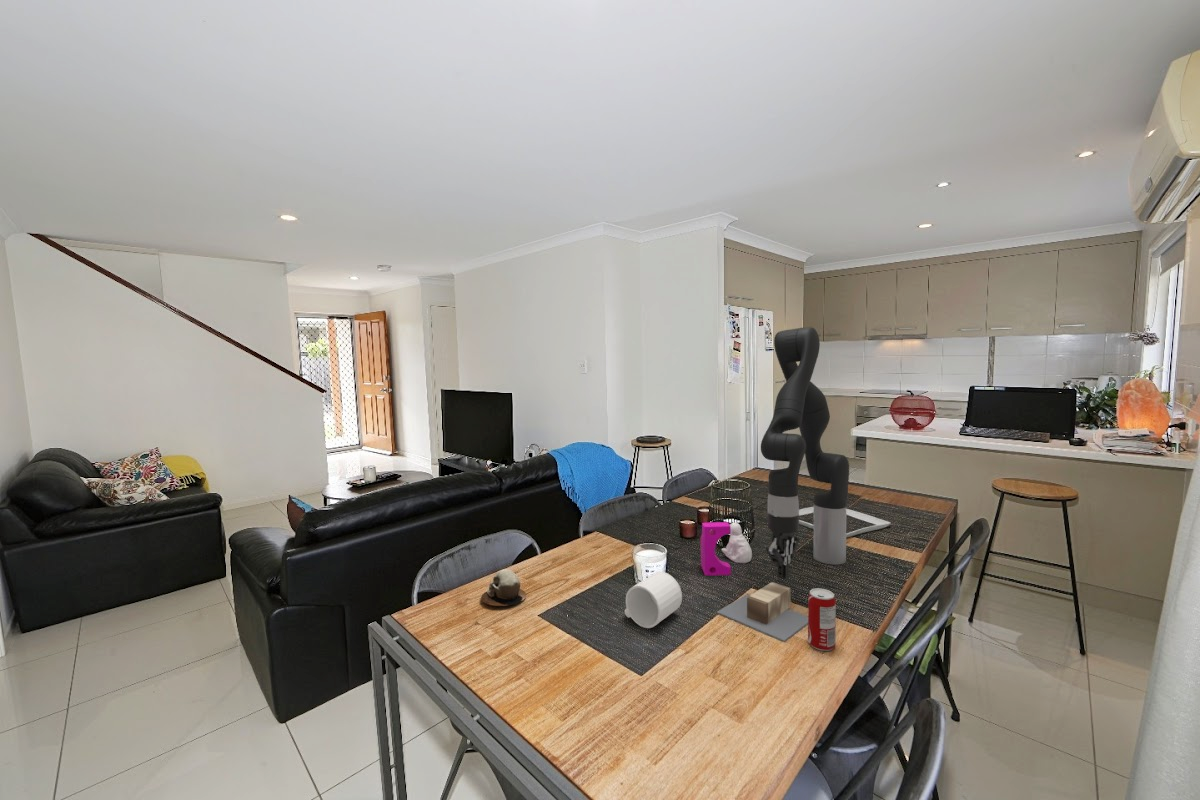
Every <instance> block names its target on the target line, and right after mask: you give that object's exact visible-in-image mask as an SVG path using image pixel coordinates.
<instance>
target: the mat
mask: <svg viewBox="0 0 1200 800" xmlns="http://www.w3.org/2000/svg"><path fill="white" fill-rule="evenodd" d="M750 595H751V594H750V593H746V594H744V595H743V596H741V597H740V598H738V599H736V600H735V601H733V602H731V603H730V604H728V605H726V606H724V607H723V608H721V609H719V610H717V611H716V614H718V615H719V616H722V617H724V618H727V619H729V620H731V621H734V622H737V624H741V625H743V626H746V627H748V628H749V629H753V630H755V631H757V632H759V633H762V634H764V635H766V636H769V637H771V638H774V639H776V640H778V641H781V642H782V643H783V642H784V643H786V642H787V641H788V640H789V639H791V638H792V637H793V636H795V635H796V634H797V633H798V632H799V631H801V630H802V629H804V628H806V626H808V614H807V615H806V614H803V613H801V612H798V611H796V610H793V609H791V608H789V609H787V610H786V611H784V612H783V613H782V614H780V615H779V616H777V617H776V618H775V619H773V620H772V621H770V622H769V623H768V624H766V625H765V624H763V623H760V622H758V621H755V620H753V619H750V618H748V617H747V597H748V596H750Z"/></svg>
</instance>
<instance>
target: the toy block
mask: <svg viewBox="0 0 1200 800" xmlns="http://www.w3.org/2000/svg"><path fill="white" fill-rule="evenodd" d="M730 533H731V530H730V523H729V522H727V521H726V522H725V521H723V522H720V521H719V522H718V521H717V522H702V523H701V535H700V567H701V569H702V571H703V574H704V576H731V575H732V567H731V566H730V564H729V562H726V561H723V560H721V559H720V558H719V557H718V556H717V555H716V552H715V551H716V546H717V543H718V541H720V539H721V538H722V537H723V536H725V535H730Z"/></svg>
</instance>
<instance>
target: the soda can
mask: <svg viewBox="0 0 1200 800" xmlns="http://www.w3.org/2000/svg"><path fill="white" fill-rule="evenodd" d="M807 601H808V603H807V609H808V610H807V616H808V624H807V642H808V644H809V645H810V646H811V647H812V648H814V649H816V650H818V651H822V652H828V651H833V649H834V648H835V647H836V642H837V641H836V640H837V639H836V632H837V631H836V628H837V627H836V626H837V623H836V622H837V621H836V619H837V614H836V613H837V607H836V606H837V601H836V598H835V593H833V592H832V591H830V590H829V589H825V588H821V587H820V588H819V587H818V588H817V587H816V588H811V590H809V594H808V597H807Z"/></svg>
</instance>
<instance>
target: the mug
mask: <svg viewBox="0 0 1200 800" xmlns="http://www.w3.org/2000/svg"><path fill="white" fill-rule="evenodd" d="M682 601H683V593H682V588H681V586H680V584H679V583H678V581H677V580H676V578H674V577H673V576H672V575H671V574H669V573H667V572H666V571H665V572H664V571H658V572H655V573H652V574H651V575H649V576H648V577H646V578H645V579H643V580H641V581H640V582H637V583H636V584H635V585H633V586H631V587H630V588H629V589H628V590H627V592H626V596H625V607H626V608H625V609H624V613H625V615H624V616H626V617H627V619H628V618H631V619H632V620H633V621H634V623H636V624H637V625H638V626H639V627H641V628H643V629H651V628H654V627H655V626H657V625H658V624H660V622H662V621H663V620H664V619H666V618H667V617H669V616H670V615H671V614H673V613H674V612H676V610H678V609H679V608H680V606H681V604H682Z"/></svg>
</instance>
